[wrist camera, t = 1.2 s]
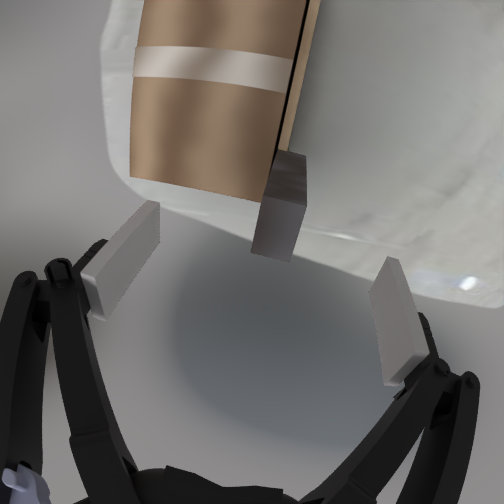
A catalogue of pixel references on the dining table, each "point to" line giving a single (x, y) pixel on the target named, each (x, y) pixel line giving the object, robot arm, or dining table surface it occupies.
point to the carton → (213, 91)
